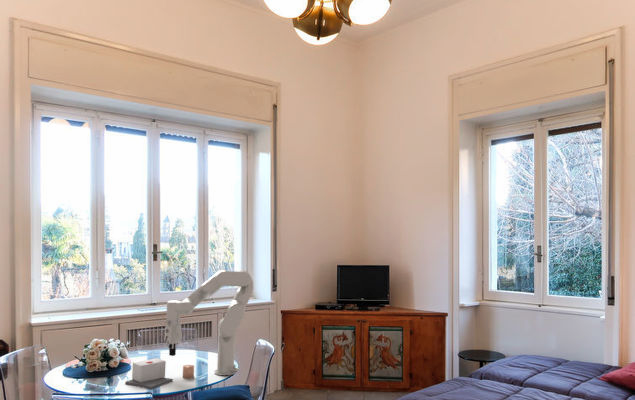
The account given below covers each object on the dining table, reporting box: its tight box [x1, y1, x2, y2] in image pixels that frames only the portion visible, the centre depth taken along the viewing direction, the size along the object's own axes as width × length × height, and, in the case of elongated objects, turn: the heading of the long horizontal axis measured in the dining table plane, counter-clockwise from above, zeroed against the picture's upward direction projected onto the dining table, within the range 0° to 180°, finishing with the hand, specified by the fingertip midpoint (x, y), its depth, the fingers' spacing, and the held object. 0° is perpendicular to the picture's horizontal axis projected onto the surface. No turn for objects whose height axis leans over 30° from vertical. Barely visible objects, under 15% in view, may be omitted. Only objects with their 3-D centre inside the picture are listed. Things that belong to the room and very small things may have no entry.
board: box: [125, 377, 173, 390], centre depth 279 cm, size 18×16×1 cm
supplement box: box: [131, 357, 167, 382], centre depth 283 cm, size 9×9×15 cm
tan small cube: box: [182, 364, 195, 380], centre depth 291 cm, size 6×6×6 cm
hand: (172, 355), depth 295 cm, fingers closed
